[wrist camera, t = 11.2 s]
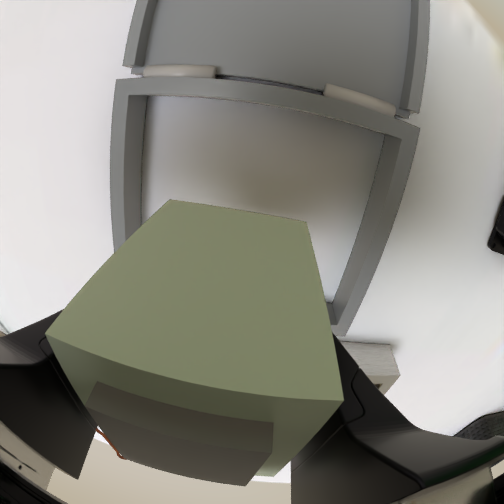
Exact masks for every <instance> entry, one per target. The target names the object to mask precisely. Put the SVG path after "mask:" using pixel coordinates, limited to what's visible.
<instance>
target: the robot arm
mask: <svg viewBox="0 0 504 504" xmlns="http://www.w3.org/2000/svg"><path fill="white" fill-rule="evenodd" d="M488 248H489V249H491V250H492V251H495V252H497V253H500V254H503V255H504V202H503V205H502V208H501V211H500V214H499V217H498V219H497V222H496V225H495V228H494V230H493V233H492V235H491V238H490V240H489V243H488ZM63 310H64V309H63ZM63 310H61V311H59V312H57V313H55V314H53V315H51V316H49V317H47V318H45V319H43V320H40V321H38V322H36V323H34V324H31V325H29V326H27V327H24V328H22V329H20V330H17V331H15V332H12V333H10V334H8V335H5V336H2V337H0V504H68V503H66V502H64V501H62V500H61V499H59V498H57V497H56V496H54V495H52V494H50V493H49V492H47V491H46V489H47V487H48V484H49V481H50V479H51V476H52V473H53V471H54V468H57V469H59V470H61V471H62V472H64V473H66V474H68V475H70V476H72V477H73V478H75V479H78V478H79V476H80V473H81V470H82V467H83V464H84V461H85V458H86V456H87V453H88V450H89V448H90V444H91V442H92V440H93V437H94V434H95V432H96V429H97V426H98V425H97V423H96V422H95V420H94V419H93V418H92V416H91V415H90V413H89V412H88V410H87V409H86V407H85V406H84V404H83V403H82V401H81V399H80V398H79V396H78V395H77V393H76V391H75V390H74V388H73V386H72V385H71V383H70V381H69V380H68V378H67V376H66V374H65V373H64V371H63V369H62V367H61V365H60V363H59V361H58V359H57V358H56V356H55V354H54V352H53V350H52V347H51V345H50V343H49V341H48V339H47V337H46V335H45V333H46V331H47V330H48V329H49V327H50V326H51V325H52V324H53V322H54V321H55V320H56V319H57V317H58V316H59V315H60V314H61V312H62V311H63ZM332 335H333V340H334V345H335V351H336V356H337V362H338V367H339V373H340V379H341V385H342V391H343V398H344V401H343V402H342V404H341V405H340V406H339V407H338V409H337V410H336V411H335V412H334V413H333V415H332V416H331V417H330V418H329V419H328V421H327V422H326V423H325V424H324V425H323V426H322V428H321V429H320V430H319V431H318V432H317V433H316V434H315V435H314V437H313V438H312V439H311V440H310V441H309V442H308V443H307V444H306V445H305V446H304V447H303V448H302V449H301V450H300V451H299V452H298V453H297V455H296V456H295V457H294V458H293V459H292V460H291V504H504V473H503V474H501V475H500V476H498V477H497V478H495V479H493V476H492V472H491V468H490V466H491V465H492V464H494V463H495V462H497V461H498V460H500V459H501V458H503V457H504V436H495V437H493V438H491V439H488V440H469V439H463V438H458V437H452V436H447V435H443V434H438V433H434V432H429V431H425V430H422V429H420V428H418V427H416V426H415V425H413V424H412V423H411V422H410V421H408V420H407V419H406V418H405V417H404V416H403V414H402V413H401V412H400V411H399V410H398V409H397V408H396V407H395V406H394V405H393V404H392V403H391V402H390V401H389V400H388V399H387V398H386V397H385V396H384V395H383V394H382V393H381V392H380V390H379V389H378V388H377V387H376V386H375V385H374V384H373V382H372V381H371V380H370V379H369V378H368V376H367V375H366V374H365V373H364V371H363V370H362V369H361V368H359V365H358V364H357V363H356V361H355V360H354V359H353V358H352V356H351V355H350V354H349V352H348V351H347V350H346V349H345V347H344V346H343V345H342V344H341V342H340V341H339V340H338V339H337V337H336V336H335V335H334V334H333V332H332Z"/></svg>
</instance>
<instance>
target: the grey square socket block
mask: <svg viewBox="0 0 504 504" xmlns="http://www.w3.org/2000/svg"><path fill="white" fill-rule="evenodd" d="M340 342H341V344H342V345H343V346H344V347H345V349H346V350H347V351H348V352H349V354H350V355H351V356H352V358H353V359H354V360H355V361H356V363H357V364H358V365H359V368H361V369H362V370H363V371H364V373H365V374H366V375H367V376H368V378H369V379H370V380H371V381H372V382H373V384H374V385H375V386H376V387H377V388H378V389H379V390H380V392H381V393H382V394H383V395H384V394H385V393H386V392H387V391H388V390H389V389H390V387H391V386H392V385H393V384H394V383H395V381H396V380H397V379H398V378H399V376H400V373H399V370H398V367H397V364H396V361H395V358H394V355H393V352H392V350H391V347H390V345H385V344H369V343H356V342H344V341H340Z"/></svg>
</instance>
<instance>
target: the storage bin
mask: <svg viewBox="0 0 504 504" xmlns="http://www.w3.org/2000/svg"><path fill="white" fill-rule="evenodd" d="M495 435H496V436H504V412H500V413H496V414H492V415H487V416H484V417H483V418H481V419H479V420H477V421H475V422H474V423H472V424H471V425H470V426H467V427H466V428H465V429H463V430H462V431H460V432H459V433H458V434H456V435H455V436H453V437H458V438H463V439H469V440H488V439H491V438H493V437H495ZM502 460H504V457H503V458H501V459H500V460H498V461H497V462H495V463H494V464H492V465H491V466H490V468H491V467H493V466H494V465H496V464H498V463H499V462H501V461H502Z"/></svg>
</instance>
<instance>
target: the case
mask: <svg viewBox="0 0 504 504" xmlns="http://www.w3.org/2000/svg"><path fill="white" fill-rule="evenodd" d="M429 23H430V0H137V2H136V5H135V9H134V13H133V17H132V21H131V25H130V29H129V34H128V39H127V44H126V49H125V54H124V60H123V66H125V67H130V68H132V71H131V74H135V75H143V78H128V79H116V84H115V92H114V101H113V112H112V125H111V145H110V200H111V220H112V234H113V245H114V253H115V252H116V251H117V250H118V249H119V248H120V247H121V246H122V244H123V243H124V242H125V241H126V240H127V239H128V238H129V237H130V236H131V235H132V234H133V233H135V232H136V231H137V230H138V229H139V228H140V227H141V172H142V150H143V135H144V123H145V113H146V104H147V96H179V97H199V98H212V99H223V100H232V101H241V102H248V103H256V104H262V105H268V106H274V107H280V108H286V109H291V110H296V111H301V112H305V113H310V114H314V115H318V116H323V117H327V118H331V119H335V120H338V121H342V122H346V123H349V124H353V125H356V126H360V127H363V128H366V129H369V130H372V131H375V132H378V133H381V134H384V135H385V138H384V143H383V147H382V151H381V155H380V159H379V163H378V167H377V171H376V175H375V178H374V182H373V186H372V189H371V193H370V196H369V200H368V203H367V206H366V210H365V213H364V216H363V219H362V223H361V226H360V229H359V232H358V235H357V238H356V241H355V244H354V247H353V250H352V252H351V255H350V258H349V261H348V264H347V266H346V269H345V272H344V275H343V277H342V280H341V282H340V285H339V288H338V290H337V293H336V295H335V298H334V300H333V303H332V304H331V303H326V306H327V310H328V315H329V320H330V325H331V330H332V332H333V334H334V335H336V336H345V335H346V333H347V331H348V329H349V327H350V325H351V323H352V321H353V319H354V317H355V315H356V313H357V311H358V309H359V307H360V305H361V303H362V300H363V298H364V296H365V294H366V292H367V289H368V287H369V285H370V283H371V280H372V278H373V275H374V273H375V271H376V268H377V266H378V263H379V261H380V258H381V256H382V253H383V251H384V248H385V246H386V243H387V240H388V238H389V235H390V232H391V229H392V226H393V224H394V221H395V218H396V215H397V212H398V209H399V206H400V203H401V200H402V196H403V193H404V190H405V186H406V183H407V180H408V176H409V172H410V169H411V165H412V161H413V157H414V153H415V149H416V145H417V141H418V136H419V132H420V128H418V127H416V126H414V125H411V124H409V123H406V122H404V121H401V120H399V119H396V118H394V117H395V115H397V116H399V117H402V118H408V119H409V115H410V113H419V111H420V105H421V100H422V93H423V87H424V80H425V72H426V64H427V54H428V42H429ZM216 76H229V77H239V78H247V79H255V80H262V81H269V82H275V83H281V84H286V85H292V86H297V87H302V88H306V89H311V90H315V91H319V92H323V96H322V95H318V94H313V93H309V92H304V91H300V90H295V89H289V88H284V87H279V86H273V85H266V84H260V83H252V82H244V81H235V80H225V79H216Z"/></svg>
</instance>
